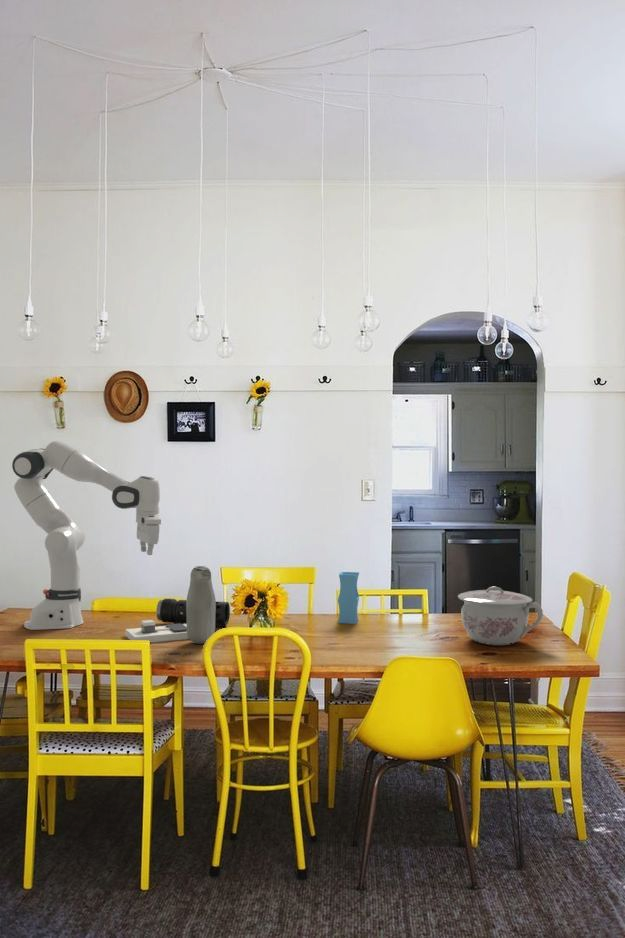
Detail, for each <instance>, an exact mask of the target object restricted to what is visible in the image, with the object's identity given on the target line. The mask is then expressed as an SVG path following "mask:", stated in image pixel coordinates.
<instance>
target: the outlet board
mask: <svg viewBox="0 0 625 938" xmlns="http://www.w3.org/2000/svg"><path fill="white" fill-rule="evenodd" d="M141 630H142V627H137V628H126V629H125V638H127V639H129V640H130V641H131V640H149V641H150V642H151V643H160V642H162V643H163V642H171V641H180V640H181V641H182V640H190V639H189V637H188V634H187V624H186V623H183V624H181V623H179V624H174V623H168V624H165V625H159V626H155V633H145V634H143V633H142V632H141ZM151 643H150V644H151Z"/></svg>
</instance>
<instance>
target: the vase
mask: <svg viewBox="0 0 625 938" xmlns="http://www.w3.org/2000/svg"><path fill="white" fill-rule="evenodd" d="M359 575H360V572H357V571H340V573H338V578H339V583H340V584H339V585H340V586H339V588H340V589H339V594H338V597H337V603H338V609H339V613H338V619H337V620H338V621H337V624H350V625H351V624H353V625H354V624H356V625H357V624H358V622H359V615H358V606H359V601H360V595H359V592H358V591H359V590H358V580H359Z"/></svg>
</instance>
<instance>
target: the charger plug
mask: <svg viewBox="0 0 625 938" xmlns="http://www.w3.org/2000/svg"><path fill="white" fill-rule="evenodd" d="M155 627H156V621H154V619H145V620H144V619H143V620H141V628H142V630H141V632H142V633H143V634H145V633H155Z"/></svg>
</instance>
